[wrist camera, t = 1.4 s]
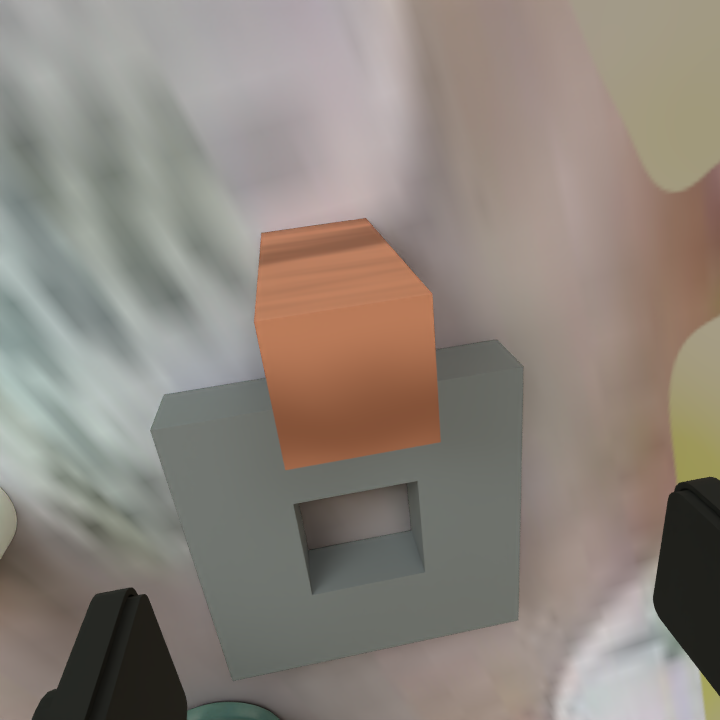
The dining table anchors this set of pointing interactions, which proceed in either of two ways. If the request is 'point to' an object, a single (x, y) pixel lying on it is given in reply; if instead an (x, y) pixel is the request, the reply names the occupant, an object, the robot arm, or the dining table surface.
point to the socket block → (359, 558)
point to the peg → (344, 344)
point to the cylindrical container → (6, 522)
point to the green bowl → (230, 712)
